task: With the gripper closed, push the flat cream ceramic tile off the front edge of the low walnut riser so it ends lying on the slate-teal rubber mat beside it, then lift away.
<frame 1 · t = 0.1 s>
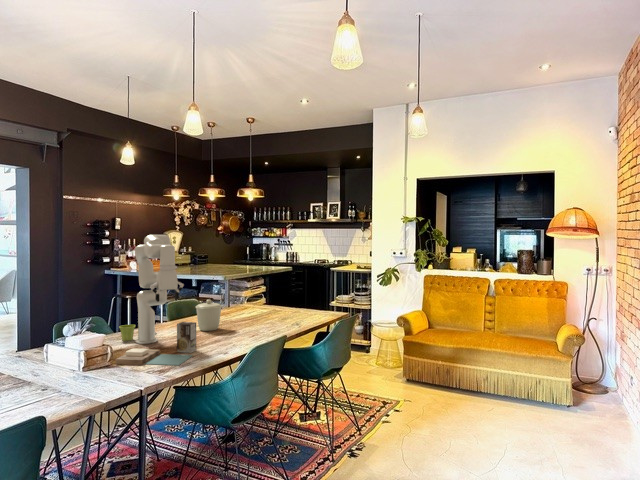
hand: (167, 300, 232), 31 cm above the table, tool pointing down, fingers open, 9 cm apart
canister: (208, 329, 305), on the table
coffee box: (186, 351, 248), on the table
plant pot: (127, 340, 274), on the table
teal mat: (169, 360, 231), on the table
tile: (136, 354, 232), point 2 cm above the table, touching walnut deck
walnut deck: (138, 358, 232), on the table
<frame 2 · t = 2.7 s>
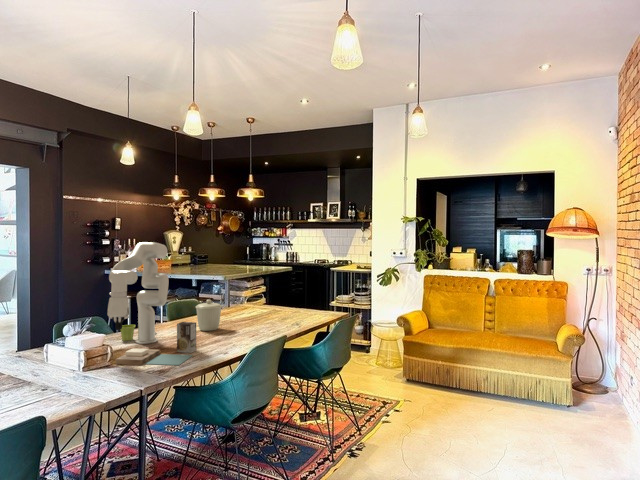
hand: (118, 329, 233), 16 cm above the table, tool pointing down, fingers closed
nothing on the table moved.
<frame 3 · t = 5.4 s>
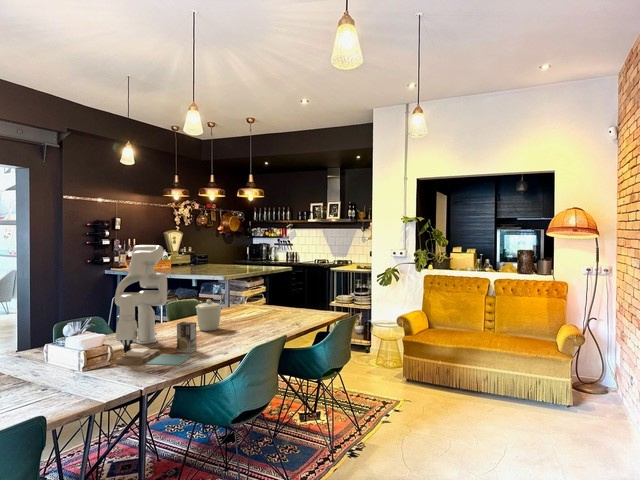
hand: (127, 352, 233), 3 cm above the table, tool pointing down, fingers closed
tile: (138, 354, 232), point 3 cm above the table, touching gripper, walnut deck
everything else where it was.
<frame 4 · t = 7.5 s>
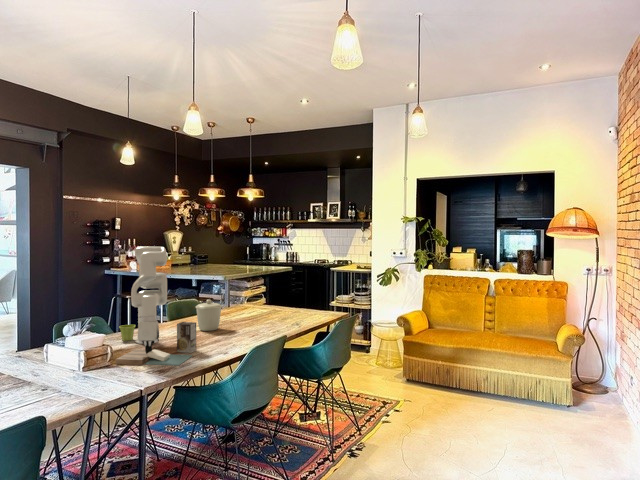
hand: (148, 352, 232), 3 cm above the table, tool pointing down, fingers closed
tile: (158, 356, 231), point 2 cm above the table, tilted 14°, touching gripper
everything else where it was.
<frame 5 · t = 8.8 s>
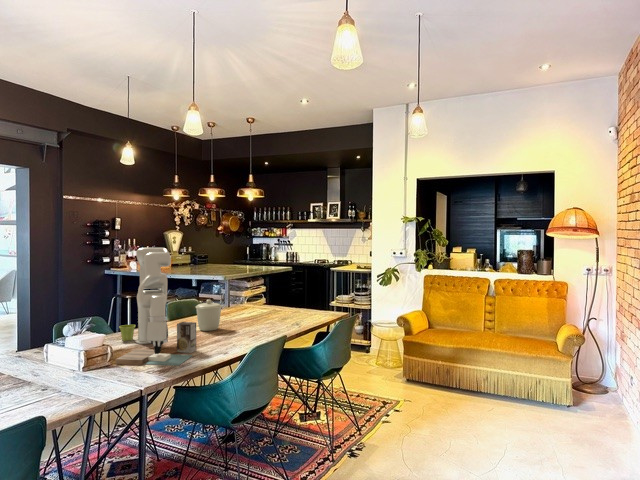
hand: (157, 353, 231), 3 cm above the table, tool pointing down, fingers closed
tile: (159, 359, 231), resting on teal mat
everything else where it was.
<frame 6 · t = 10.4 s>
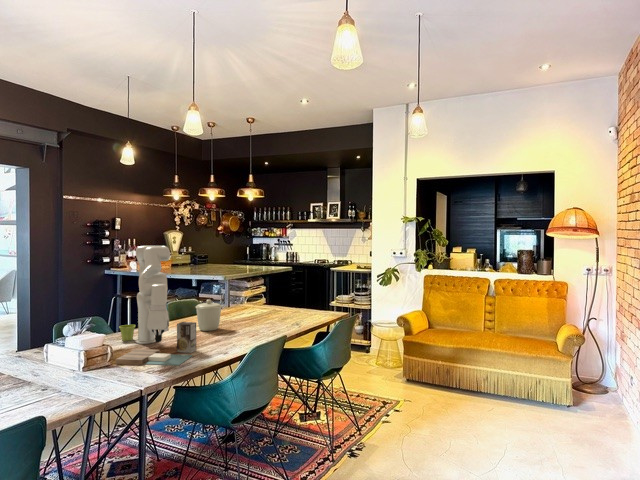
hand: (158, 341, 232), 9 cm above the table, tool pointing down, fingers closed
nothing on the table moved.
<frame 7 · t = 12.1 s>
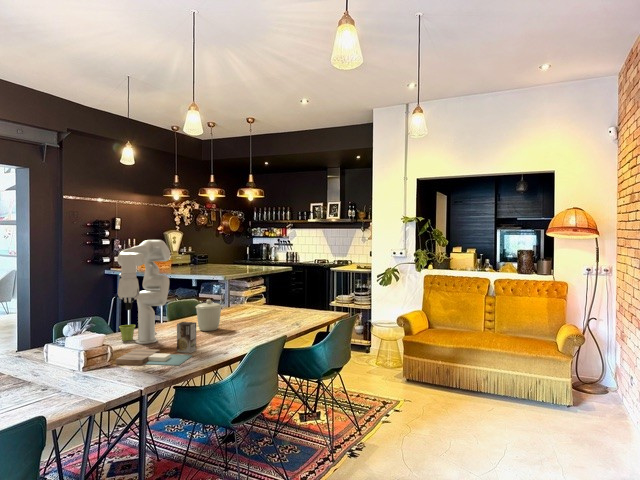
hand: (128, 309, 239), 25 cm above the table, tool pointing down, fingers closed
nothing on the table moved.
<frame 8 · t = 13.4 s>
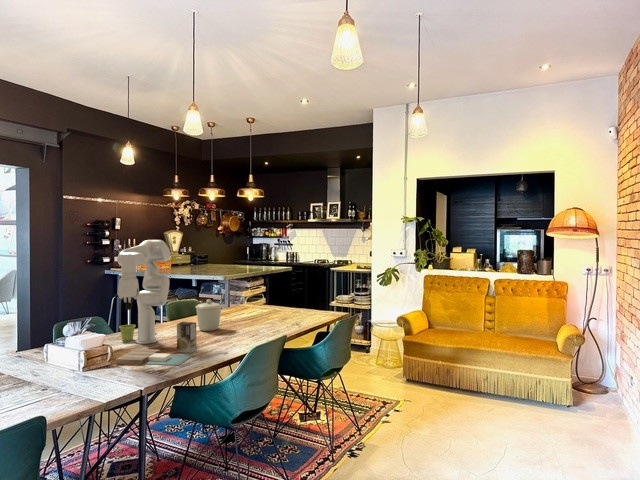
hand: (128, 309, 239), 25 cm above the table, tool pointing down, fingers closed
nothing on the table moved.
at the end: tile inside the target area (5.2 cm from its centre), resting on teal mat; tile touching teal mat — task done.
